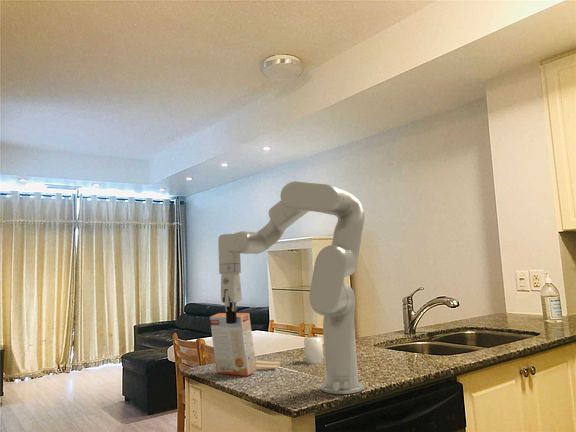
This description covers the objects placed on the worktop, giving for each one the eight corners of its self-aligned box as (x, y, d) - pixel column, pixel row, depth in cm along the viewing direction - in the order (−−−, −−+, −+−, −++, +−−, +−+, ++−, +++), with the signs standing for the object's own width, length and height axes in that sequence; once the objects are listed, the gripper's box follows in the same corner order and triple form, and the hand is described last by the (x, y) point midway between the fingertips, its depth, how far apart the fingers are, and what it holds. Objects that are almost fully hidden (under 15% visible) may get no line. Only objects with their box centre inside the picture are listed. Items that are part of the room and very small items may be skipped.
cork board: (275, 370, 158) (275, 368, 158) (227, 371, 160) (227, 369, 160) (282, 361, 173) (282, 359, 173) (238, 362, 176) (238, 360, 176)
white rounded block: (322, 363, 166) (321, 339, 167) (304, 363, 167) (303, 339, 168) (323, 359, 172) (322, 336, 174) (306, 360, 173) (305, 337, 175)
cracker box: (257, 370, 155) (250, 312, 155) (247, 377, 150) (240, 316, 149) (226, 367, 162) (219, 312, 162) (216, 373, 157) (208, 316, 156)
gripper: (234, 268, 144) (236, 325, 141) (245, 269, 158) (247, 320, 156) (212, 270, 145) (214, 326, 142) (225, 270, 159) (227, 321, 157)
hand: (231, 323), depth 149 cm, fingers closed
